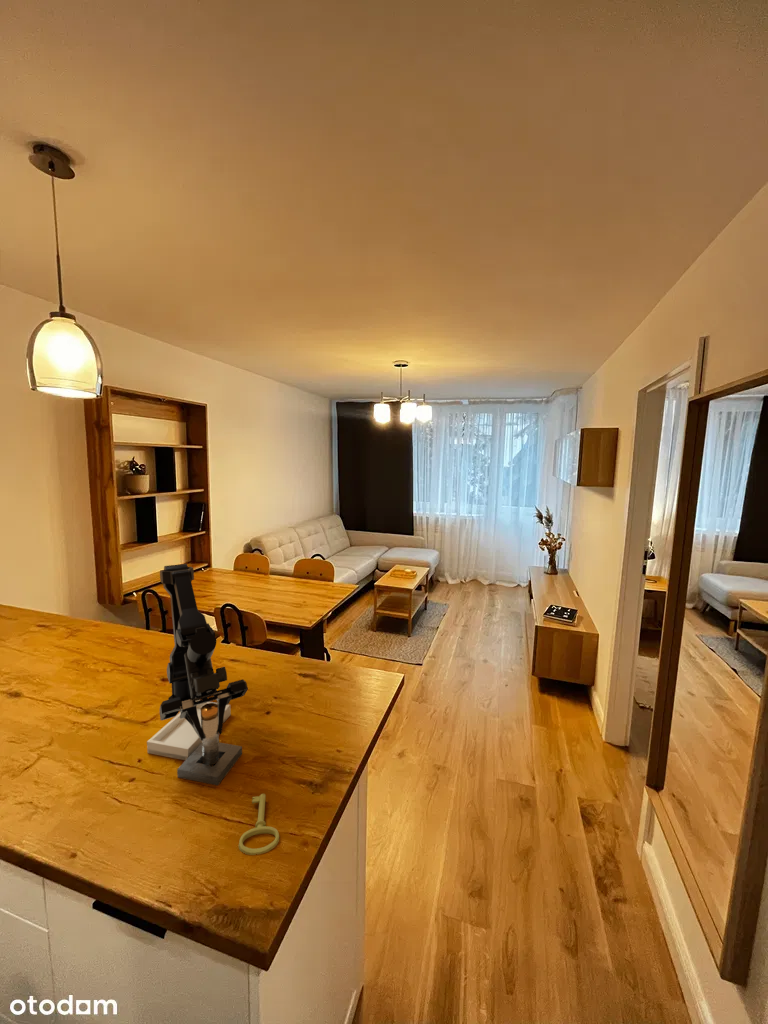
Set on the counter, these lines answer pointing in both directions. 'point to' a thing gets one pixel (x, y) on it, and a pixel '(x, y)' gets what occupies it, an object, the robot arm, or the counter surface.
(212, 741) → the pin
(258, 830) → the key
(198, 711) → the parts tray
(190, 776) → the grey flat square frame
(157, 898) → the counter surface
